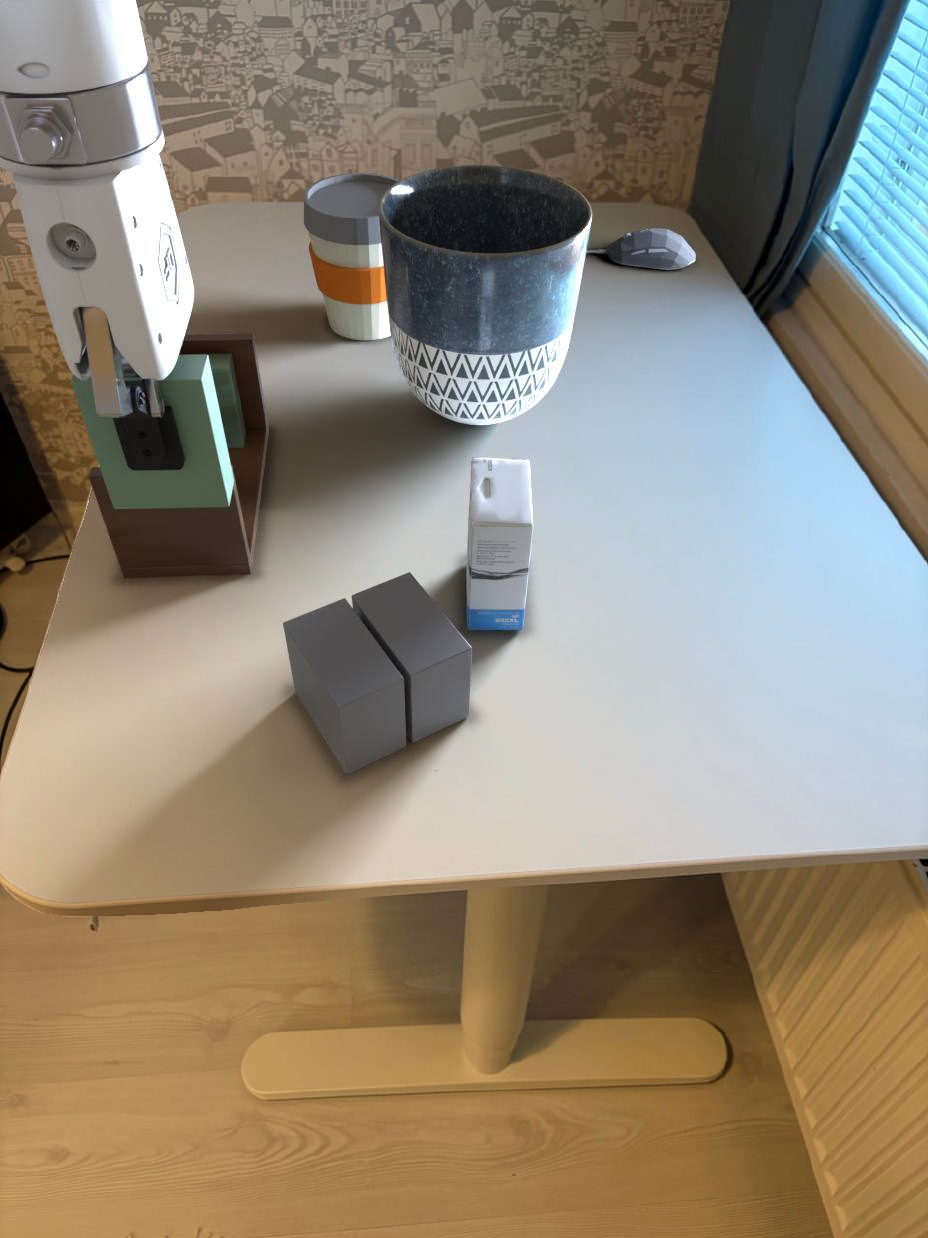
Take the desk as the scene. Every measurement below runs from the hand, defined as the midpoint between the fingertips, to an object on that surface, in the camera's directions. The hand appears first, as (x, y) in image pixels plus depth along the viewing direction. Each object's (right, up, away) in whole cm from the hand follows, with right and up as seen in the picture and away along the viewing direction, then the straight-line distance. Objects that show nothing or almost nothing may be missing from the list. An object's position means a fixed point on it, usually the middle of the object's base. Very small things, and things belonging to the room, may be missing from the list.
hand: (162, 447), depth 54 cm
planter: (+19, +13, +45) cm, 50 cm away
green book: (0, -2, +3) cm, 4 cm away
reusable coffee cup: (+6, +26, +57) cm, 62 cm away
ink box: (+21, -8, +25) cm, 34 cm away
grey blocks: (+11, -17, +17) cm, 26 cm away
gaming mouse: (+42, +39, +70) cm, 90 cm away
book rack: (-7, +1, +33) cm, 34 cm away
